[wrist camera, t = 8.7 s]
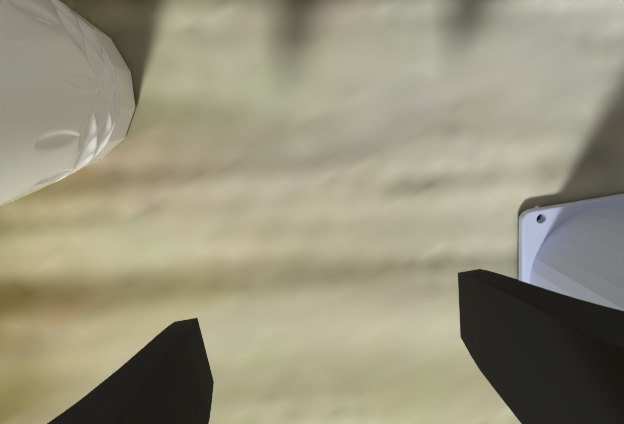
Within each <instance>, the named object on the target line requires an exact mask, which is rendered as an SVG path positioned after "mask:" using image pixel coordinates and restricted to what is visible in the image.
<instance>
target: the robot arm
mask: <svg viewBox="0 0 624 424" xmlns="http://www.w3.org/2000/svg"><path fill="white" fill-rule="evenodd" d="M540 214H541V218H540V219H539V220H538V221H537V220H536V219H537V217H538V215H540ZM458 284H459V308H460V331H461V338H462V340H463V342H464V344H465V346H466V347H467V349H468V351H469V353H470V355H471V356H472V358H473V359H474V361H475V363H476V364H477V366H478V368H479V369H480V371H481V372H482V373H483V375H484V376H485V377H486V378H487V380H488V381H489V382H490V384H491V385H492V386H493V388H494V389H495V390H496V391H497V393H498V394H499V395H500V397H501V398H502V399H503V400H504V402H505V403H506V404H507V406H508V407H509V408H510V409H511V411H512V412H513V413H514V414H515V416H516V417H517V418H518V420H519V421H520V422H521V423H522V424H624V193H623V194H617V195H611V196H605V197H599V198H593V199H587V200H581V201H575V202H569V203H563V204H557V205H551V206H545V207H539V208H533V209H527V210H525V211H523V212H522V213H521V215H520V216H519V267H518V280H517V279H514V278H511V277H507V276H504V275H501V274H498V273H494V272H490V271H486V270H481V269H477V270H472V271H466V272H460V273H458ZM213 383H214V382H213V378H212V374H211V370H210V366H209V362H208V358H207V354H206V350H205V346H204V342H203V338H202V335H201V331H200V327H199V323H198V319H197V318H194V319H189V320H183V321H177V322H174V323H172V324H171V325H169V326H168V327H167V328H166V329H164V330H163V331H162V332H161V333H160V334H159V335H157V336H156V337H155V338H154V339H153V340H152V341H150V342H149V343H148V344H147V345H146V346H145V347H144V348H143V349H141V350H140V351H139V352H138V353H137V354H136V355H134V356H133V357H132V358H131V359H130V360H129V361H128V362H126V363H125V364H124V365H123V366H122V367H121V368H119V369H118V370H117V371H116V372H115V373H113V374H112V375H111V376H110V377H108V378H107V379H106V380H105V381H103V382H102V383H101V384H100V385H98V386H97V387H96V388H95V389H94V390H92V391H91V392H90V393H89V394H87V395H86V396H85V397H84V398H82V399H81V400H80V401H78V402H77V403H76V404H74V405H73V406H72V407H70V408H69V409H67V410H66V411H65V412H63V413H62V414H60V415H59V416H58V417H56V418H55V419H53V420H52V421H50V422H49V423H47V424H208V423H209V418H210V410H211V402H212V393H213Z"/></svg>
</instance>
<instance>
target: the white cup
mask: <svg viewBox="0 0 624 424" xmlns="http://www.w3.org/2000/svg"><path fill="white" fill-rule="evenodd" d="M134 111H135V99H134V91H133V84H132V76H131V71H130V69H129V68H128V66H127V65H126V63H125V61H124V60H123V58H122V56H121V55H120V53H119V51H118V50H117V48H116V46H115V45H114V43H113V41H112V40H111V38H110V37H109V36H107V35H106V34H104V33H103V32H102V31H100V30H99V29H98V28H96V27H95V26H94V25H92V24H91V23H90V22H88V21H87V20H86V19H84V18H83V17H82V16H80V15H79V14H78V13H76V12H74V11H73V10H71V9H69V8H68V7H67V6H66V5H65V4H63V3H62V2H61V1H59V0H0V206H3V205H5V204H7V203H10V202H12V201H15V200H17V199H19V198H22V197H24V196H26V195H29V194H31V193H33V192H35V191H37V190H39V189H42V188H44V187H45V186H47V185H49V184H52V183H54V182H56V181H59V180H61V179H63V178H65V177H67V176H69V175H71V174H72V173H74V172H76V171H77V170H79V169H81V168H82V167H85V166H87V165H90V164H93V163H95V162H98V161H100V160H102V159H103V158H104V157H105V156H106V155H107V154H108V153H109V152H111V151H112V150H113V149H114V148H115V147H116V146H117V145H118V144H119V143H120V142H122V141H123V140H124V139H125V137H126V134H127V131H128V128H129V125H130V122H131V119H132V116H133V113H134Z"/></svg>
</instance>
